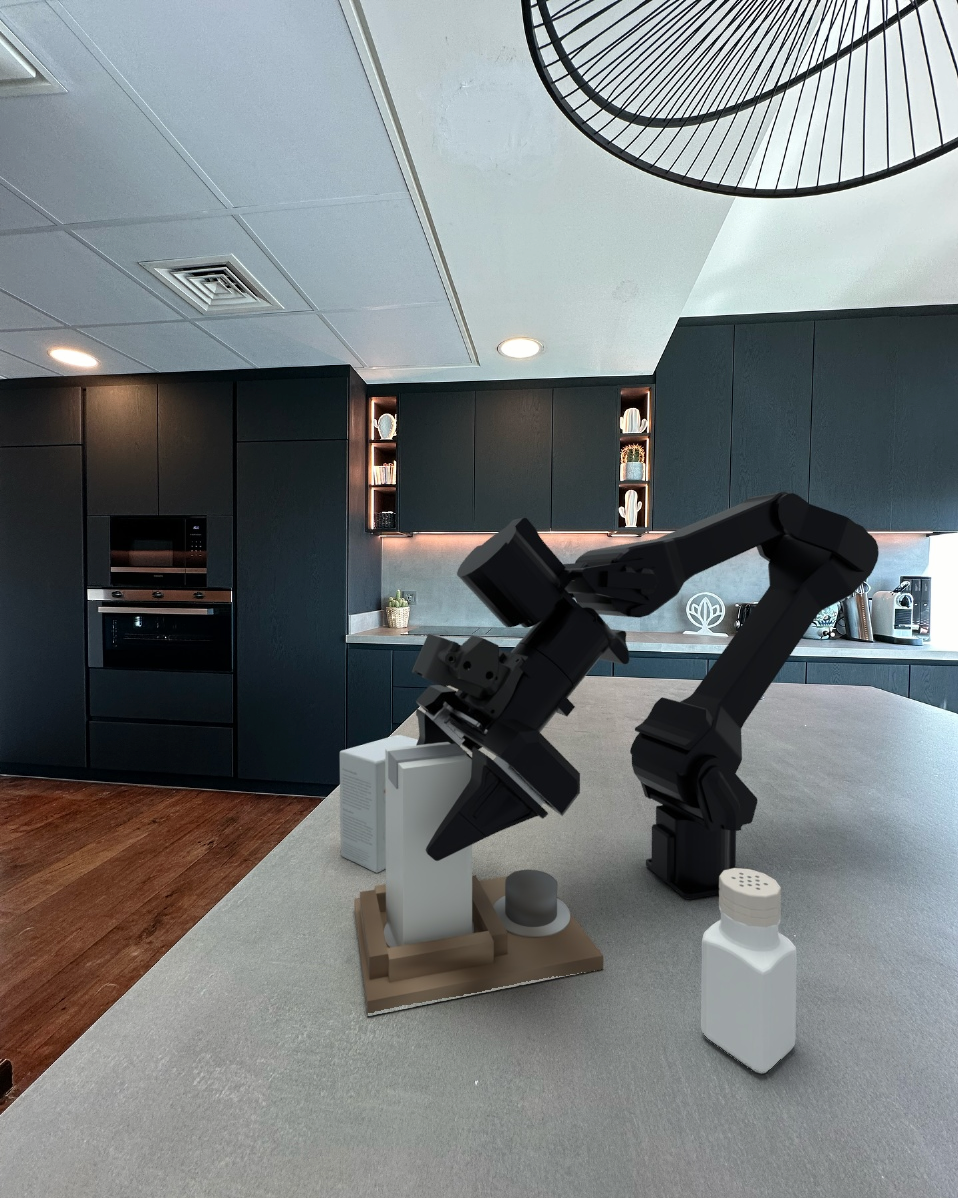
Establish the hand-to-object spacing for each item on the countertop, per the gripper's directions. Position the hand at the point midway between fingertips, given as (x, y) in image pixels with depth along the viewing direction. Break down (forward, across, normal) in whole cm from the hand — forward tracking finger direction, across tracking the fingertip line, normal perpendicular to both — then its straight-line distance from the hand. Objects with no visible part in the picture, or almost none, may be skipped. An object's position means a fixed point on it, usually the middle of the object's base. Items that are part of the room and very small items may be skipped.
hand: (410, 828), depth 42 cm
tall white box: (+5, 0, +6) cm, 8 cm away
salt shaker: (-4, +16, +17) cm, 24 cm away
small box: (+5, -16, +8) cm, 19 cm away
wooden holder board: (+3, 0, +9) cm, 10 cm away
